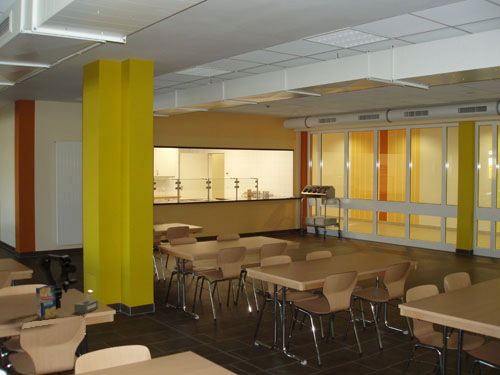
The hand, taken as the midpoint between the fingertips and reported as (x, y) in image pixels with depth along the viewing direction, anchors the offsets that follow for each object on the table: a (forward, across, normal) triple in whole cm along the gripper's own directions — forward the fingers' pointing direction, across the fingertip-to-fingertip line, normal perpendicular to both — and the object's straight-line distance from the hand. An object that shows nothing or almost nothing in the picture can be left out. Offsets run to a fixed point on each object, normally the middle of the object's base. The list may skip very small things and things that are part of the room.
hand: (65, 292), depth 398 cm
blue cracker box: (+13, -1, -20) cm, 24 cm away
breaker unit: (+13, +16, +3) cm, 21 cm away
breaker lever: (+6, +17, +3) cm, 18 cm away
